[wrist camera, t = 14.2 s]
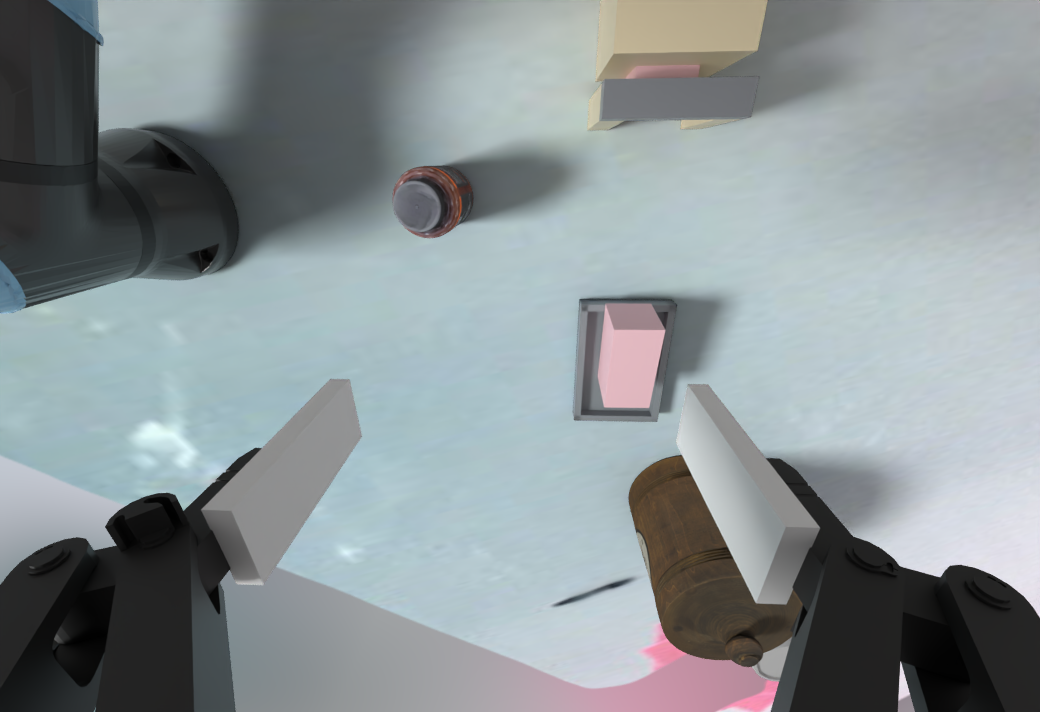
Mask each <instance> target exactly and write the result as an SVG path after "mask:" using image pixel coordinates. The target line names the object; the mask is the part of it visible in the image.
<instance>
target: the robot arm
mask: <svg viewBox="0 0 1040 712" xmlns="http://www.w3.org/2000/svg"><path fill="white" fill-rule="evenodd" d="M103 43H104V41H103V37H102V35H101V34H100V33H99V20H98V0H0V313H14V312H16V311H18V310H21V309H23V308H27V307H30V306H34V305H37V304H41V303H44V302H48V301H51V300H55V299H58V298H62V297H65V296H69V295H72V294H76V293H79V292H83V291H86V290H90V289H93V288H97V287H100V286H104V285H107V284H111V283H114V282H118V281H121V280H125V279H129V278H146V279H163V280H188V279H194V278H197V277H201V276H204V275H207V274H210V273H213V272H215V271H217V270H218V269H220V268H221V267H223V266H224V265H225V264H226V263H227V262H228V261H229V259H230V258H231V256H232V254H233V252H234V250H235V247H236V244H237V239H238V221H237V215H236V211H235V207H234V204H233V202H232V199H231V197H230V194H229V192H228V190H227V189H226V187H225V185H224V183H223V182H222V180H221V179H220V177H219V176H218V174H217V173H216V172H215V171H214V169H213V168H212V167H211V166H210V165H209V164H208V163H207V162H206V161H205V160H204V159H203V158H202V157H201V156H200V155H199V154H198V153H197V152H195V151H194V150H193V149H191V148H190V147H189V146H187V145H186V144H184V143H182V142H181V141H179V140H177V139H175V138H173V137H170V136H168V135H165V134H163V133H159V132H155V131H149V130H140V129H129V128H119V129H111V130H106V131H103V132H100V133H98V126H99V45H101V46H103ZM361 437H362V434H361V430H360V425H359V421H358V416H357V411H356V407H355V402H354V398H353V393H352V389H351V384H350V380H349V379H330V380H329V381H328V382H327V383H326V384H325V385H324V386H323V387H322V388H321V389H320V390H319V391H318V392H317V393H316V394H315V395H314V396H313V397H312V398H311V399H310V400H309V401H308V402H307V403H306V404H305V405H304V406H303V407H302V408H301V409H300V410H299V411H298V412H297V413H296V414H295V415H294V416H293V417H292V418H291V419H290V420H289V421H288V423H287V424H286V425H285V426H284V427H283V428H282V429H281V430H280V431H279V432H278V433H277V434H276V435H275V436H274V437H273V438H272V439H271V440H270V441H269V442H268V443H267V444H266V445H265V446H264V447H263V448H254V449H253V450H251V451H249V452H248V453H246V454H245V455H243V456H241V457H240V458H238V459H237V460H236V461H235V462H234V463H233V464H232V465H231V466H230V467H229V468H228V469H227V470H226V472H225V473H223V474H221V475H220V476H219V477H218V478H217V479H216V482H215V483H212V484H211V485H210V486H209V487H208V488H207V489H206V490H205V491H204V492H203V493H202V494H201V495H200V496H199V497H198V498H197V499H196V500H195V501H193V502H192V503H191V504H190V505H189V506H188V507H187V508H186V509H185V510H184V511H183V509H182V507H181V505H180V503H179V502H178V500H177V498H176V496H175V495H173V494H170V493H157V494H154V495H150V496H146V497H143V498H141V499H139V500H136V501H134V502H132V503H130V504H128V505H127V506H125V507H124V508H122V509H120V510H119V511H118V512H117V513H116V514H114V516H112V517H111V518H110V519H109V521H108V523H107V525H106V526H105V528H106V529H107V531H108V532H109V534H110V535H111V537H112V539H113V540H114V542H115V543H116V545H117V546H113V547H108V548H104V549H99V550H93V549H92V547H91V546H90V544H89V543H88V541H87V540H86V539H84V538H77V537H76V538H71V539H65V540H62V541H59V542H56V543H53V544H50V545H48V546H46V547H44V548H41V549H40V550H38V551H36V552H34V553H33V554H32V555H30V556H29V557H27V558H26V559H24V560H23V561H21V562H20V563H19V564H18V565H17V566H16V567H15V568H14V569H13V570H12V571H11V572H10V573H9V575H8V576H7V577H6V578H5V580H4V581H3V582H2V584H1V585H0V712H94V710H95V707H96V710H95V712H236V711H235V702H234V692H233V681H232V671H231V661H230V651H229V642H228V631H227V621H226V611H225V601H224V591H223V589H222V587H221V585H220V581H221V580H222V579H223V577H224V576H225V575H226V573H227V572H228V571H229V570H230V571H231V573H232V575H233V578H234V580H235V582H236V584H252V585H264V584H265V582H266V581H267V579H268V578H269V576H270V575H271V573H272V572H273V570H274V569H275V567H276V566H277V564H278V563H279V561H280V560H281V558H282V557H283V555H284V554H285V552H286V551H287V549H288V548H289V546H290V545H291V543H292V541H293V540H294V538H295V537H296V535H297V534H298V532H299V531H300V529H301V528H302V526H303V525H304V523H305V522H306V520H307V519H308V517H309V516H310V514H311V513H312V511H313V510H314V508H315V507H316V505H317V504H318V502H319V501H320V499H321V498H322V496H323V495H324V493H325V492H326V490H327V489H328V487H329V486H330V484H331V482H332V481H333V479H334V478H335V476H336V475H337V473H338V472H339V470H340V469H341V467H342V466H343V464H344V463H345V461H346V460H347V458H348V457H349V455H350V454H351V452H352V451H353V449H354V448H355V446H356V445H357V443H358V442H359V440H360V439H361ZM676 444H677V446H678V448H679V450H680V452H681V454H682V456H683V458H684V460H685V462H686V464H687V466H688V468H689V470H690V472H691V474H692V476H693V478H694V480H695V482H696V484H697V486H698V488H699V490H700V492H701V494H702V496H703V498H704V500H705V502H706V504H707V506H708V508H709V510H710V512H711V514H712V516H713V518H714V520H715V522H716V524H717V526H718V528H719V530H720V532H721V534H722V536H723V538H724V540H725V542H726V544H727V546H728V548H729V550H730V552H731V554H732V556H733V558H734V560H735V562H736V564H737V566H738V568H739V570H740V572H741V574H742V576H743V578H744V580H745V582H746V584H747V586H748V588H749V590H750V592H751V594H752V596H753V598H754V600H755V602H756V603H759V604H787V602H788V600H789V597H790V595H791V593H792V591H793V589H794V591H795V593H796V594H797V596H798V597H799V599H800V601H801V602H802V604H803V605H802V607H801V609H800V611H799V613H798V615H797V617H796V620H795V622H794V624H793V626H792V628H791V630H790V631H791V632H793V635H792V639H791V642H790V646H789V649H788V653H787V656H786V660H785V663H784V667H783V670H782V674H781V677H780V681H779V684H778V688H777V691H776V695H775V698H774V702H773V705H772V709H771V712H898V694H899V675H900V661H901V663H902V667H903V670H904V674H905V677H906V681H907V684H908V688H909V692H910V695H911V699H912V702H913V706H914V709H915V712H1040V618H1039V616H1038V615H1037V613H1036V611H1035V610H1034V608H1033V607H1032V606H1031V604H1030V603H1029V602H1028V601H1027V600H1026V599H1025V597H1024V596H1023V595H1021V594H1020V593H1019V592H1017V591H1016V590H1015V589H1014V588H1012V587H1011V586H1010V585H1009V584H1007V583H1005V582H1003V581H1002V580H1000V579H998V578H997V577H995V576H993V575H991V574H989V573H986V572H984V571H981V570H979V569H976V568H973V567H968V566H963V565H954V566H949V567H948V568H947V569H946V570H945V572H944V573H943V575H942V576H941V577H936V576H933V575H929V574H925V573H922V572H918V571H914V570H911V569H907V568H903V567H900V566H899V565H898V563H897V562H896V561H895V560H894V559H893V558H892V557H891V556H890V555H889V554H887V553H886V552H885V551H884V550H882V549H881V548H879V547H877V546H875V545H873V544H872V543H870V542H867V541H865V540H862V539H859V538H856V537H853V536H852V535H851V534H850V533H849V531H848V530H847V529H846V528H845V527H844V526H843V524H842V523H841V522H840V521H839V520H838V519H837V517H836V516H835V515H834V514H833V513H832V511H831V510H830V509H829V508H828V507H827V506H826V504H825V503H824V502H823V501H822V500H821V499H820V497H817V494H816V493H815V492H814V490H813V489H812V488H811V487H810V486H808V483H807V482H806V481H805V480H804V479H803V477H802V476H801V475H800V474H799V473H798V472H797V470H795V469H794V468H792V467H791V466H790V465H788V464H787V463H785V462H784V461H782V460H781V459H775V458H765V457H764V455H763V454H762V453H761V452H760V450H759V449H758V448H757V446H756V445H755V444H754V443H753V441H752V440H751V439H750V437H749V436H748V435H747V434H746V432H745V431H744V430H743V429H742V427H741V426H740V425H739V423H738V422H737V421H736V420H735V418H734V417H733V416H732V414H731V413H730V412H729V411H728V409H727V408H726V407H725V406H724V404H723V403H722V402H721V400H720V399H719V398H718V397H717V395H716V394H715V393H714V391H713V390H712V389H711V388H710V386H709V385H706V384H688V385H687V390H686V395H685V400H684V405H683V410H682V415H681V420H680V425H679V430H678V435H677V440H676Z"/></svg>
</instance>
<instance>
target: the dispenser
mask: <svg viewBox="0 0 1040 712" xmlns="http://www.w3.org/2000/svg"><path fill="white" fill-rule="evenodd" d="M767 1H768V0H600V15H599V31H598V47H597V64H596V80H595V82H598V81H603V82H602V83H601V85H600V86H599V88H598V89H597V90H596V92H595V93H594V94H593V96H592V97H591V98H590V100H589V109H588V127H587V130H609V129H611V128H613V127H614V126H616V125H618V124H620V123H622V122H623V121H645V120H682V121H681V128H680V129H703V128H708V127H712V126H716V125H720V124H724V123H728V122H732V121H736V120H740V119H744V118H749V117H751V115H752V110H753V105H754V100H755V96H756V91H757V86H758V81H759V76H749V77H710V76H711V75H713V74H715V73H717V72H719V71H721V70H723V69H724V68H726V67H728V66H730V65H732V64H734V63H736V62H737V61H739V60H741V59H743V58H745V57H747V56H749V55H750V54H752V53H754V52H756V51H758V46H759V41H760V36H761V31H762V26H763V21H764V16H765V11H766V6H767Z"/></svg>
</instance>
